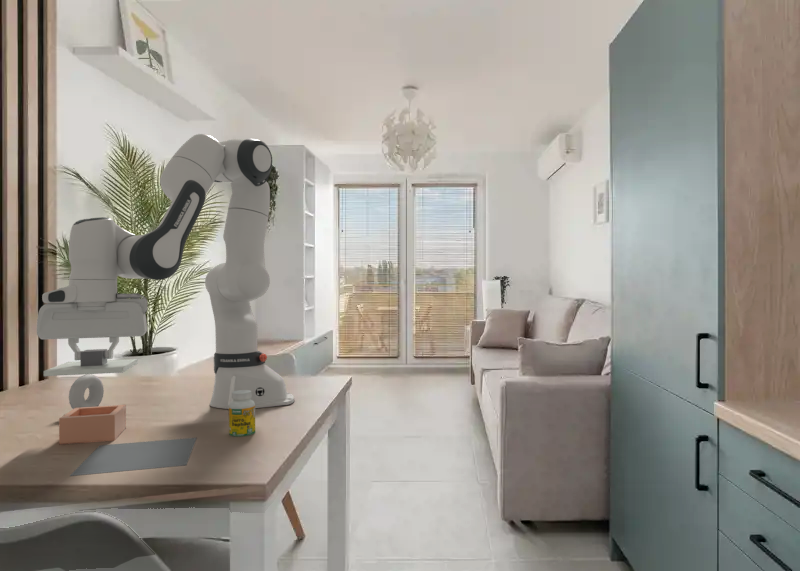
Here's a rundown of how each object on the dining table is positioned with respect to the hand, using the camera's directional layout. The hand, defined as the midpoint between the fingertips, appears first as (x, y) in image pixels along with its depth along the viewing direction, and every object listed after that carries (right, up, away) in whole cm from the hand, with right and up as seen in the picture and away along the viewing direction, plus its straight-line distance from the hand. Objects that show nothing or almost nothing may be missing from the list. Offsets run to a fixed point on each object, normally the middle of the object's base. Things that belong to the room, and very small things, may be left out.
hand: (94, 359), depth 112 cm
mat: (+16, -17, -13) cm, 27 cm away
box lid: (0, -2, 0) cm, 2 cm away
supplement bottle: (+31, -17, +1) cm, 35 cm away
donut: (-16, -18, +25) cm, 34 cm away
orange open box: (0, -17, 0) cm, 17 cm away
